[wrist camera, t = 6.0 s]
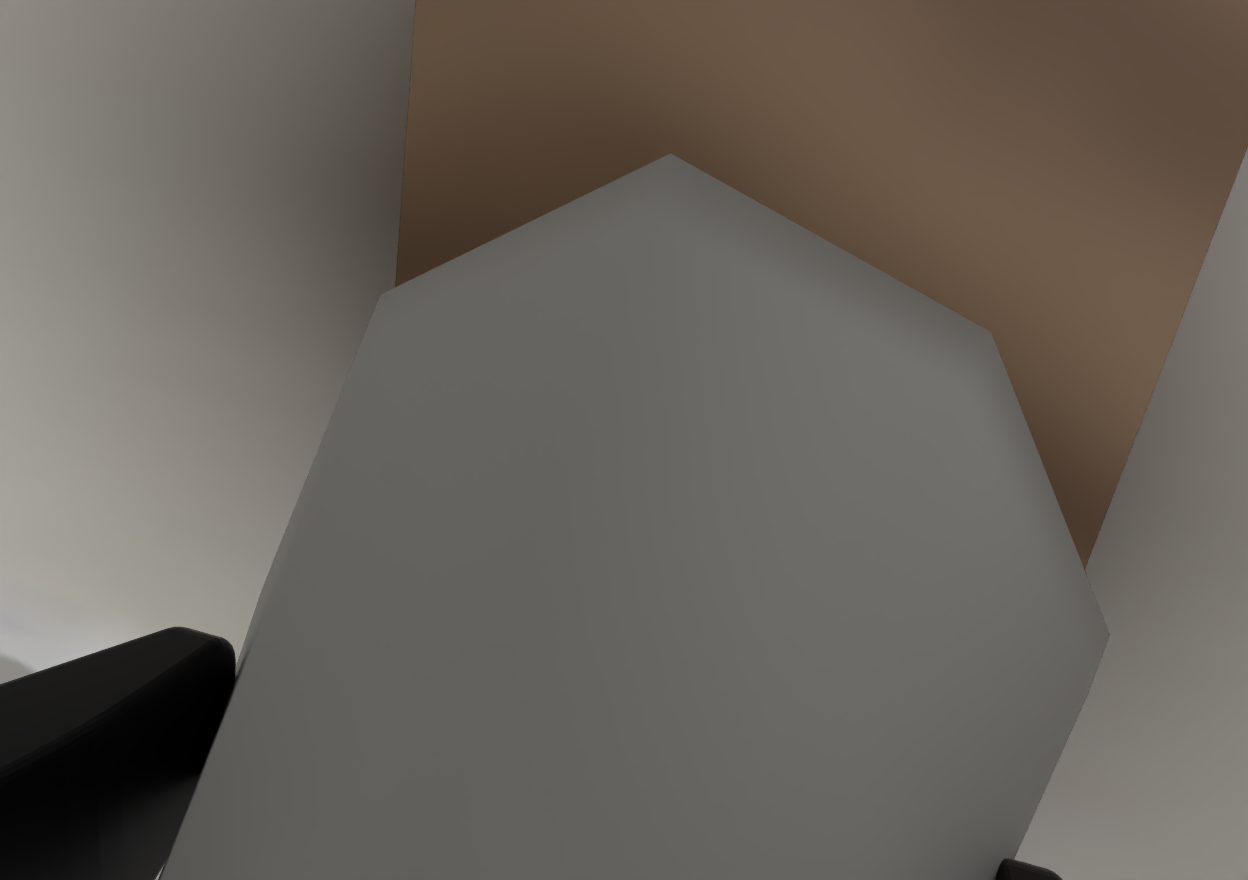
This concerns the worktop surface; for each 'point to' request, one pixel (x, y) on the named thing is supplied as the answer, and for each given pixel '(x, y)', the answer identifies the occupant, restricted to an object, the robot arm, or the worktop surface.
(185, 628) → the robot arm
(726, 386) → the flask
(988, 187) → the walnut board
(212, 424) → the worktop surface
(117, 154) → the worktop surface
